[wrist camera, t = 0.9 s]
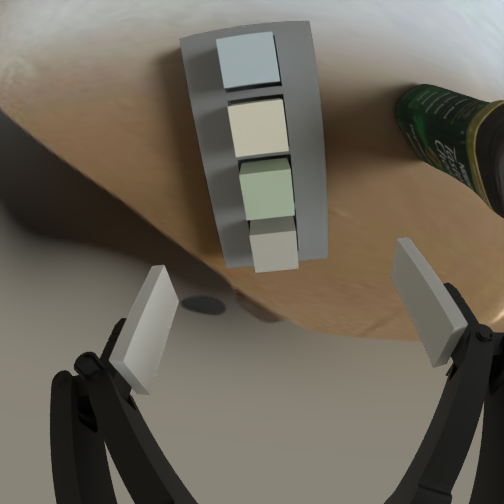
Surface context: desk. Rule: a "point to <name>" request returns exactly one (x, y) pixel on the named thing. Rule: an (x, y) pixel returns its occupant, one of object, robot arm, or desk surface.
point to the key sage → (267, 189)
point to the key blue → (248, 59)
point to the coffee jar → (457, 137)
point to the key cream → (258, 127)
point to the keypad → (299, 155)
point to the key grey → (274, 244)
